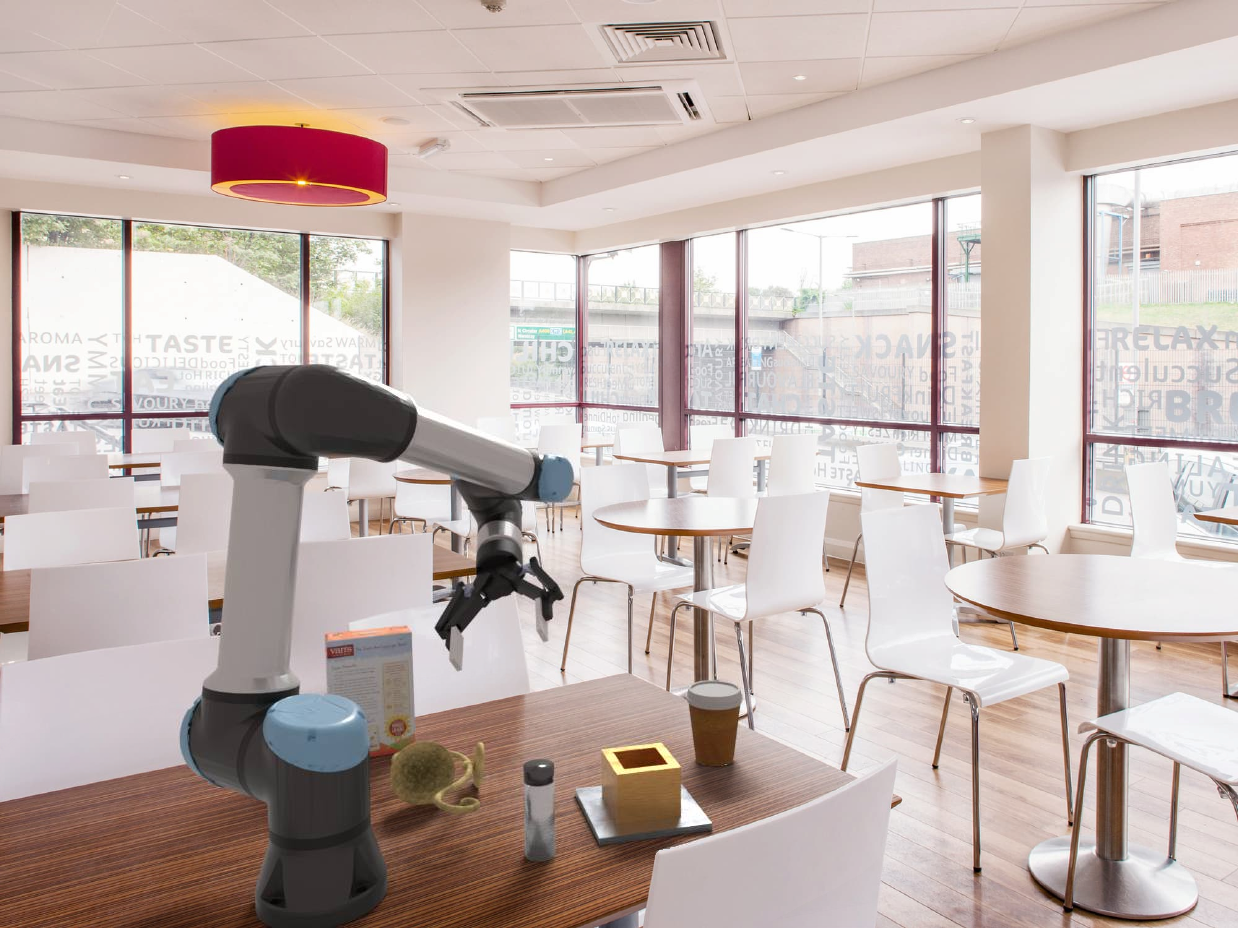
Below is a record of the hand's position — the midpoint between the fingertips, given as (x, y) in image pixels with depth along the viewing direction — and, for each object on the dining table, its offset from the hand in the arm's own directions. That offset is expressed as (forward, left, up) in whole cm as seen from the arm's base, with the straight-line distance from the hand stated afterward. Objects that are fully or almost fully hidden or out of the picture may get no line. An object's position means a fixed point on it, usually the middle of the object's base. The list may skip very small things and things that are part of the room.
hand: (498, 650), depth 129 cm
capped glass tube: (+3, -14, -24) cm, 28 cm away
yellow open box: (+19, -6, -24) cm, 31 cm away
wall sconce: (-9, +16, -20) cm, 27 cm away
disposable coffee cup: (+36, +9, -24) cm, 44 cm away
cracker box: (-19, +28, -24) cm, 41 cm away
